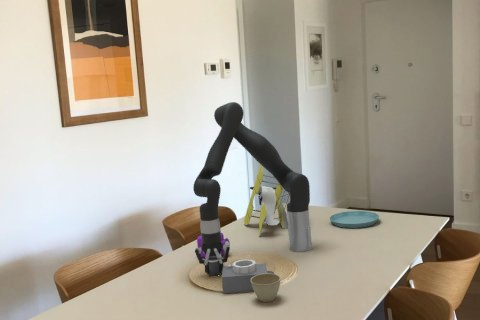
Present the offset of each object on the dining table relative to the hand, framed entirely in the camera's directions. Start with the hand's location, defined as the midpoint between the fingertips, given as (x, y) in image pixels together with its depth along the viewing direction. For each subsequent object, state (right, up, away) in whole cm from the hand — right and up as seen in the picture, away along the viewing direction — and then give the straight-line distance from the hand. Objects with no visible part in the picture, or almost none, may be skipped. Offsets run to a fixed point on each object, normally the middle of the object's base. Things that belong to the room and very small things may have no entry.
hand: (214, 272), depth 199 cm
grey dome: (+20, 0, -4) cm, 20 cm away
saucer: (+67, +12, +58) cm, 89 cm away
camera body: (+12, -2, -14) cm, 18 cm away
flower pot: (+19, -3, -27) cm, 33 cm away
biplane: (+26, +9, +58) cm, 64 cm away
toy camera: (-1, +2, +24) cm, 24 cm away
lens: (0, -1, 0) cm, 1 cm away
